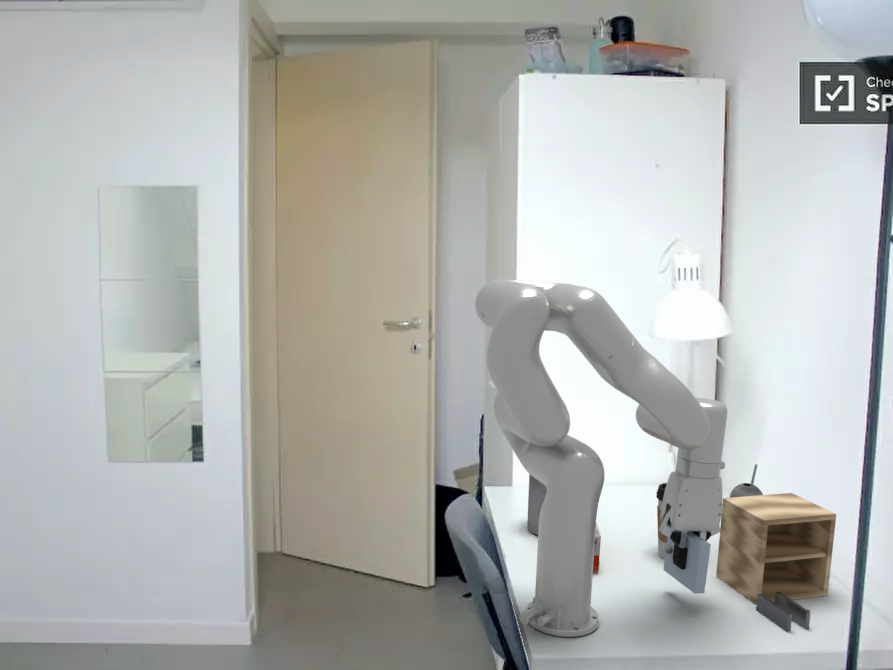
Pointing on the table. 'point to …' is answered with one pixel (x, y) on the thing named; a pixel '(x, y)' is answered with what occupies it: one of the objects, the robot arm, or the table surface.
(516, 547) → the table surface
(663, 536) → the coffee cup
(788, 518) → the cabinet
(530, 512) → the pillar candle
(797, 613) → the hinge clips
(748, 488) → the beverage cup
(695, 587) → the door panel
